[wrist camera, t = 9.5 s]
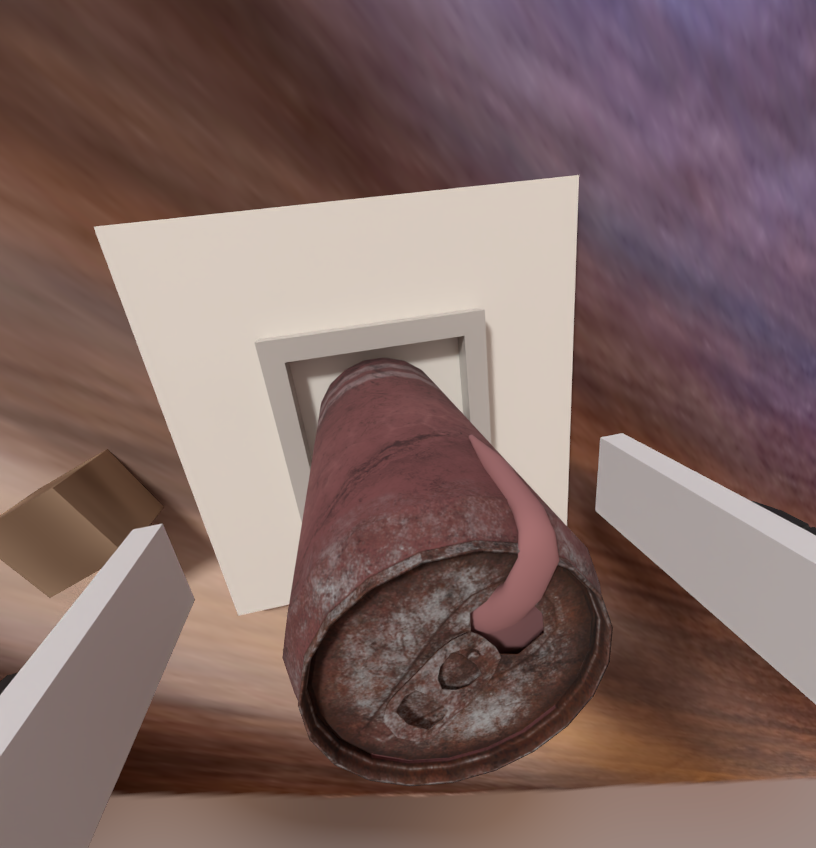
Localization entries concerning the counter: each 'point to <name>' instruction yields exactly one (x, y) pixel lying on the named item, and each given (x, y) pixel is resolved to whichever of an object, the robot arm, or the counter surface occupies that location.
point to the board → (347, 340)
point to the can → (432, 592)
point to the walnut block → (74, 523)
